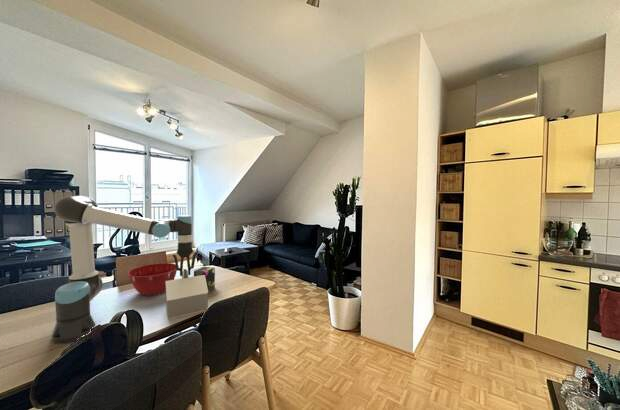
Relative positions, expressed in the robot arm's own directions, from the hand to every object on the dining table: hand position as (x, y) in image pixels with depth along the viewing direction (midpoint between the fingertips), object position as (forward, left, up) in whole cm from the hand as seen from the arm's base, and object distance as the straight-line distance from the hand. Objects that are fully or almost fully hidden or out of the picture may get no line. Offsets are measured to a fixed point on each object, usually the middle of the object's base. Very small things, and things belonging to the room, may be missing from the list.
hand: (185, 280), depth 149 cm
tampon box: (+14, +18, -15) cm, 27 cm away
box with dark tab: (0, -3, -4) cm, 4 cm away
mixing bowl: (-15, +32, -15) cm, 38 cm away
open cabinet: (0, -7, -15) cm, 16 cm away
